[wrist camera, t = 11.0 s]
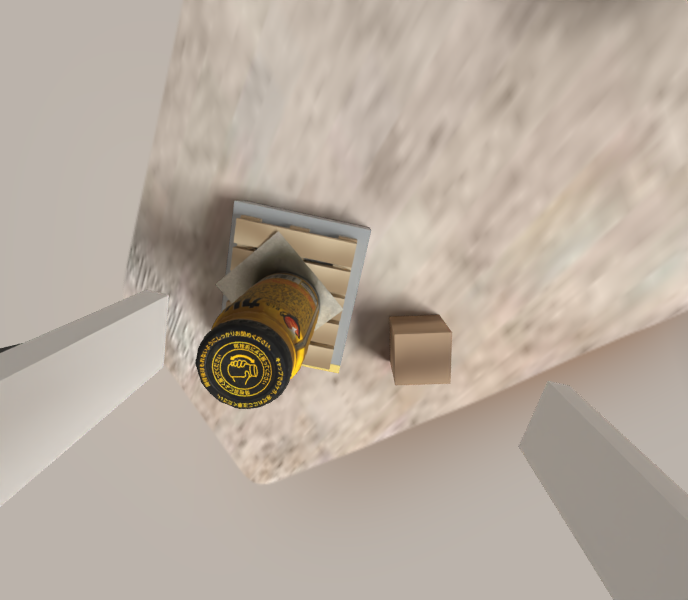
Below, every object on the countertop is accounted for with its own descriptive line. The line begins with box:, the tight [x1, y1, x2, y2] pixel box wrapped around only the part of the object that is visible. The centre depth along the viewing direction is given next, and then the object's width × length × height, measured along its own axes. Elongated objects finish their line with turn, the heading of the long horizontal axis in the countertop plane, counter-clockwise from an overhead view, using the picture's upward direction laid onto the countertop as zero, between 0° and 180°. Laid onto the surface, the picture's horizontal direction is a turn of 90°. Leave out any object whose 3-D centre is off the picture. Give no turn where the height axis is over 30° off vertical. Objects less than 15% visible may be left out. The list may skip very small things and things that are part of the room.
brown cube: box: [389, 315, 452, 385], centre depth 34 cm, size 5×5×5 cm
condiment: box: [196, 231, 344, 409], centre depth 24 cm, size 7×8×12 cm
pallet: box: [226, 215, 357, 370], centre depth 31 cm, size 12×10×2 cm
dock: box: [221, 201, 371, 373], centre depth 33 cm, size 14×12×3 cm
